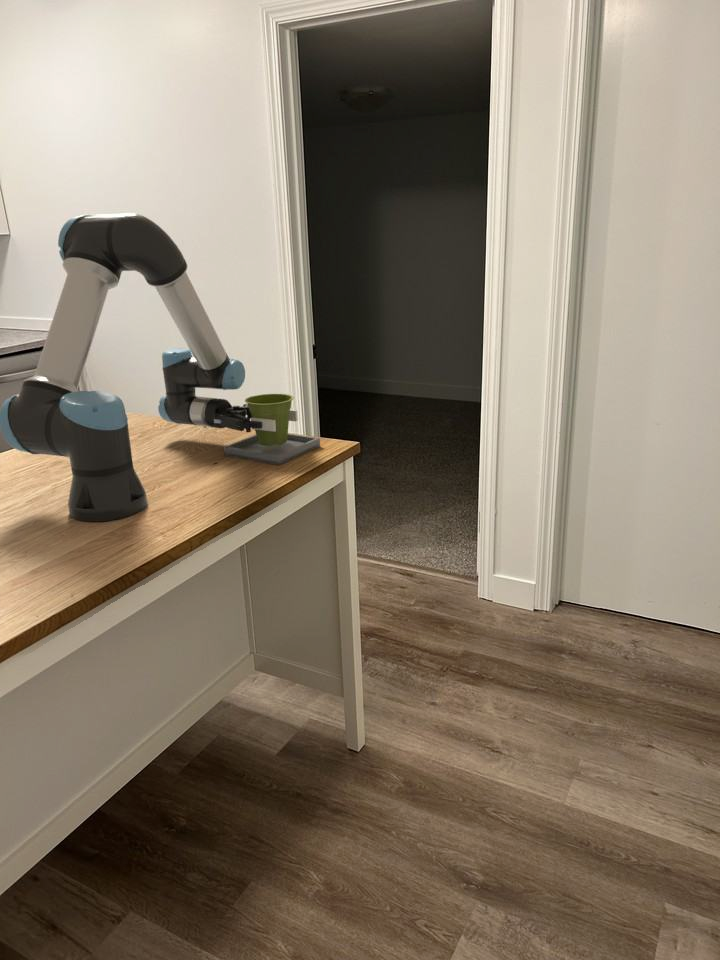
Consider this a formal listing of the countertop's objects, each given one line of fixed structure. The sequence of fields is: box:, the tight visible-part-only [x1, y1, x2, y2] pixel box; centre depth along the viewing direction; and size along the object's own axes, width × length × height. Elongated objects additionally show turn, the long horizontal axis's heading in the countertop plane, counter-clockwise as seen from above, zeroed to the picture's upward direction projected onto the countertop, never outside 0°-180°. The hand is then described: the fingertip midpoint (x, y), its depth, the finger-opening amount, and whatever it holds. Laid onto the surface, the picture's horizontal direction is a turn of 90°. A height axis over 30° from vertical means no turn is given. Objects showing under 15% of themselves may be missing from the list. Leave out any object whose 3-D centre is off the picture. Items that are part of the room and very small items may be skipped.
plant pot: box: [244, 393, 295, 446], centre depth 178 cm, size 12×12×11 cm
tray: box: [223, 432, 321, 466], centre depth 181 cm, size 17×17×2 cm
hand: (286, 420), depth 176 cm, fingers closed on plant pot, 9 cm apart
